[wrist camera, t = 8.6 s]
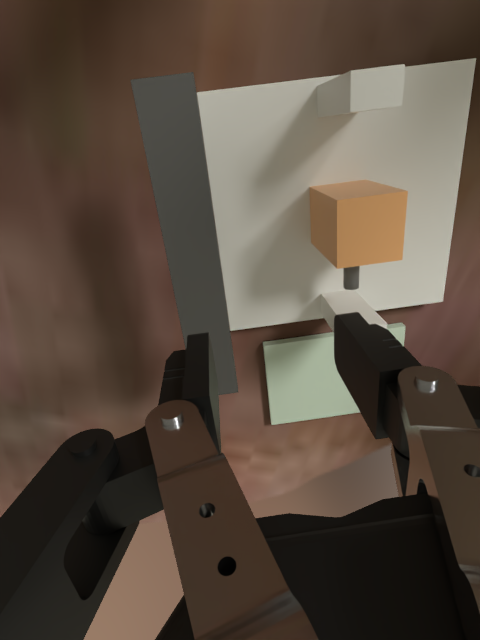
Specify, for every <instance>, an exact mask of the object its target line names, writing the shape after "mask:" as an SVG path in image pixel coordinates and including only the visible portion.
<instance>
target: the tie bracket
mask: <svg viewBox="0 0 480 640" xmlns="http://www.w3.org/2000/svg"><path fill="white" fill-rule="evenodd" d="M475 63H476V58H473V59H465V60H457V61H448V62H440V63H432V64H424V65H416V66H408V67H405V64H401V65H393V66H384V67H376V68H368V69H360V70H352V71H349V72H347V73H345V74H342V75H335V76H327V77H319V78H310V79H302V80H294V81H286V82H278V83H270V84H262V85H254V86H245V87H237V88H229V89H221V90H213V91H205V92H197V97H198V104H199V111H200V118H201V125H202V132H203V139H204V146H205V154H206V161H207V168H208V175H209V182H210V189H211V196H212V203H213V210H214V218H215V225H216V232H217V239H218V246H219V253H220V260H221V267H222V274H223V282H224V289H225V296H226V303H227V310H228V317H229V324H230V331H233V330H241V329H248V328H255V327H262V326H270V325H277V324H284V323H291V322H299V321H306V320H313V319H320V318H325V320H326V322H327V323H328V325H329V326H330V328H331V329H332V331H333V332H334V317H335V315H338V314H345V313H352V312H359V313H360V314H361V316H362V317H363V318H364V319H365V320H366V321H367V322H368V324H377V325H379V326H381V327H384V328H386V329H387V323H386V322H385V321H384V320H383V319H382V318H381V317H380V316H379V315H378V314H377V312H376V311H378V310H385V309H393V308H400V307H407V306H414V305H422V304H429V303H436V302H443V296H444V289H445V282H446V274H447V267H448V260H449V252H450V245H451V238H452V231H453V223H454V216H455V209H456V202H457V194H458V187H459V180H460V172H461V165H462V158H463V151H464V143H465V136H466V129H467V122H468V114H469V107H470V100H471V92H472V85H473V78H474V71H475ZM365 179H366V180H369V181H373V182H377V183H380V184H384V185H388V186H392V187H395V188H399V189H403V190H406V191H408V197H407V209H406V221H405V234H404V246H403V258H402V260H399V261H392V262H384V263H377V264H369V265H362V266H360V271H359V288H358V289H356V290H346V289H344V288H343V268H340V269H337V268H336V267H335V266H334V265H333V264H332V263H331V262H330V261H329V260H328V259H327V258H326V257H325V256H324V255H323V254H322V253H321V252H320V251H319V250H318V249H317V248H316V247H315V246H314V245H313V244H312V243H311V222H310V188H309V187H312V186H319V185H327V184H335V183H342V182H350V181H358V180H365Z"/></svg>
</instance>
